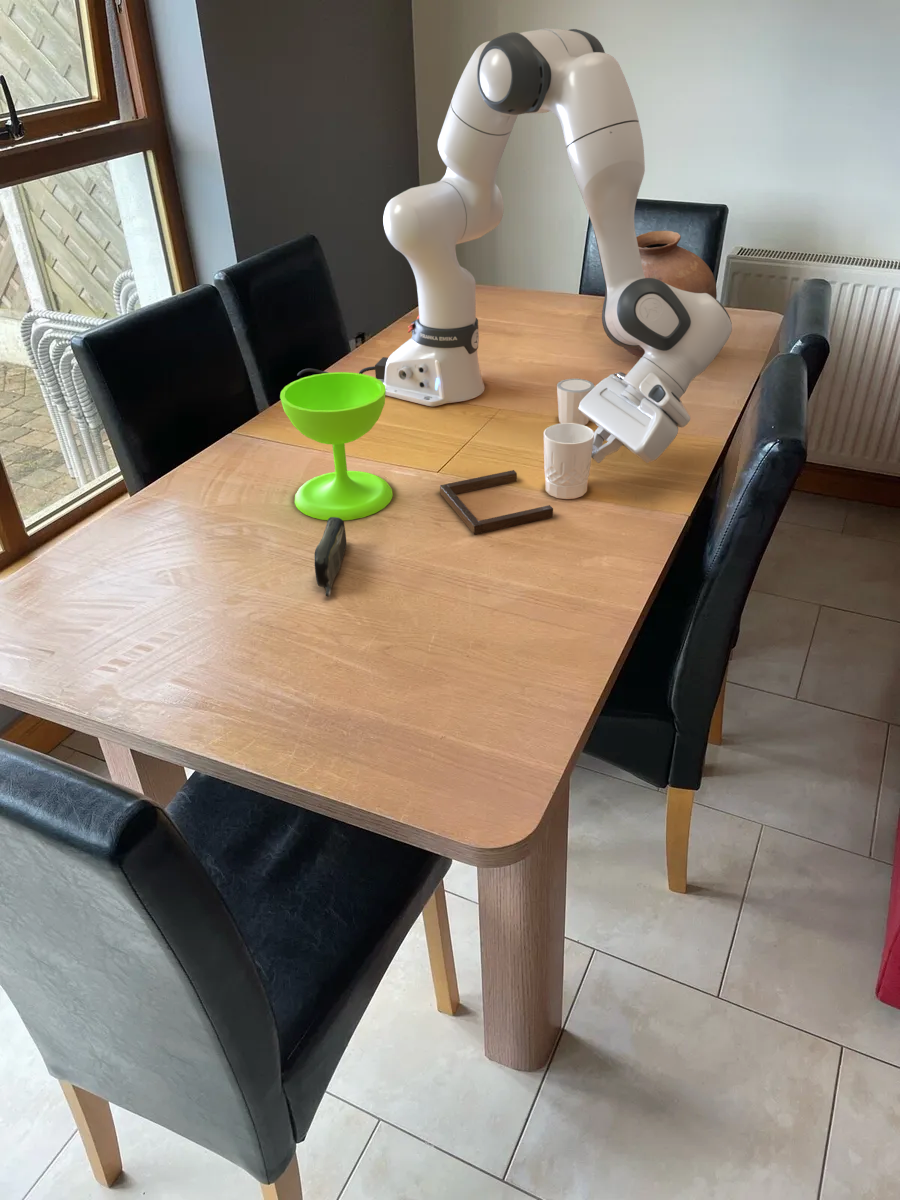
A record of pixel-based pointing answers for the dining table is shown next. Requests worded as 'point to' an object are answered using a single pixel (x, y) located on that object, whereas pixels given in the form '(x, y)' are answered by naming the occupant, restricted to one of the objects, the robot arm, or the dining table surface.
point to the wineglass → (337, 441)
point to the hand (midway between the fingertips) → (591, 457)
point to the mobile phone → (330, 553)
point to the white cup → (567, 459)
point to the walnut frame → (494, 523)
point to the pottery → (673, 266)
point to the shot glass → (572, 400)
